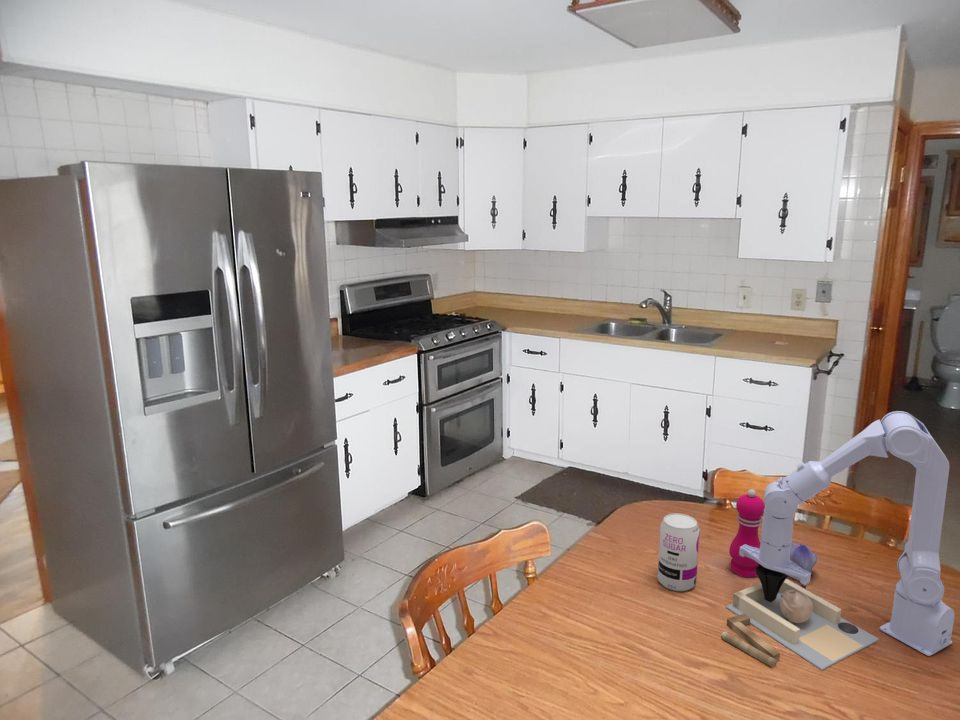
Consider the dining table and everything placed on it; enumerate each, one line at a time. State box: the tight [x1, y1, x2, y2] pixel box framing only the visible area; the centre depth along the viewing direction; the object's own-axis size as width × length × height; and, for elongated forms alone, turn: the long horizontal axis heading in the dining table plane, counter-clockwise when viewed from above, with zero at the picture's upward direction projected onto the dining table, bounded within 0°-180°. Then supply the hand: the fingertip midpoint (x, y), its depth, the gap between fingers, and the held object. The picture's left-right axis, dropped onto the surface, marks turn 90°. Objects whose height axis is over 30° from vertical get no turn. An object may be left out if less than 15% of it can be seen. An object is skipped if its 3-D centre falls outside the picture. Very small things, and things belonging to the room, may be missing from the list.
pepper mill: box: [728, 488, 765, 578], centre depth 152 cm, size 7×7×20 cm
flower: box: [790, 540, 818, 589], centre depth 150 cm, size 9×8×10 cm
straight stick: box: [720, 631, 778, 668], centre depth 127 cm, size 11×2×2 cm, turn 37°
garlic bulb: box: [780, 589, 813, 624], centre depth 135 cm, size 7×6×8 cm
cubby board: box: [725, 578, 880, 671], centre depth 135 cm, size 22×17×3 cm
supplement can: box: [657, 512, 701, 592], centre depth 148 cm, size 8×8×15 cm
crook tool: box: [726, 614, 781, 662], centre depth 130 cm, size 12×4×2 cm, turn 22°
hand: (770, 599), depth 141 cm, fingers closed
